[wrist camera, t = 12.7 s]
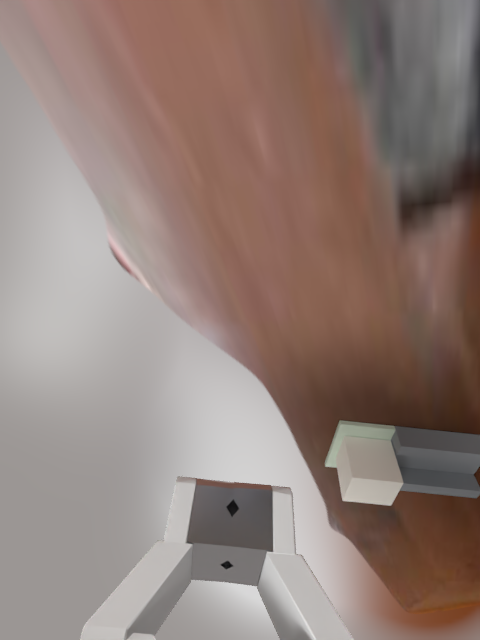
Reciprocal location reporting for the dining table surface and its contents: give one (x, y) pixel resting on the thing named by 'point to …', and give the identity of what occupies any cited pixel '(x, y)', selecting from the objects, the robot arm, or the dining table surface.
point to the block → (368, 471)
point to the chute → (422, 456)
